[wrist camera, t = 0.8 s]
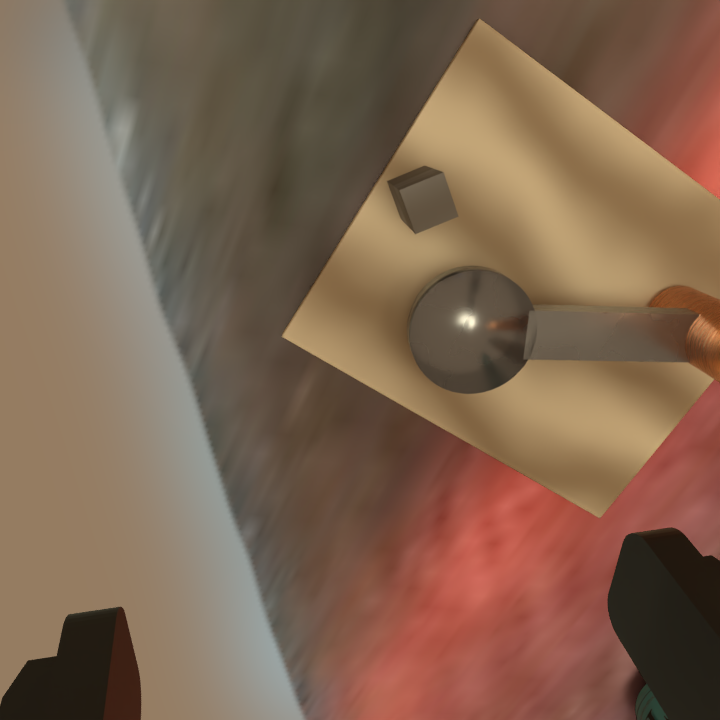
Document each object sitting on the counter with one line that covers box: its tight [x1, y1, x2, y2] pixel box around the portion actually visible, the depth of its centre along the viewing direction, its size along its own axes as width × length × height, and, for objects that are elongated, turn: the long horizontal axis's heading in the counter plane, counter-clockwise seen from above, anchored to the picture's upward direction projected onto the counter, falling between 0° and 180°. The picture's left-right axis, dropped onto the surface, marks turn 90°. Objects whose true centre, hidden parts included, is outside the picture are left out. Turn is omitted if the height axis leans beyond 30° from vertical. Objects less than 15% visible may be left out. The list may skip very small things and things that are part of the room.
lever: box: [407, 266, 720, 394], centre depth 29 cm, size 17×6×16 cm, turn 88°
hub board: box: [282, 19, 720, 518], centre depth 34 cm, size 18×22×6 cm
